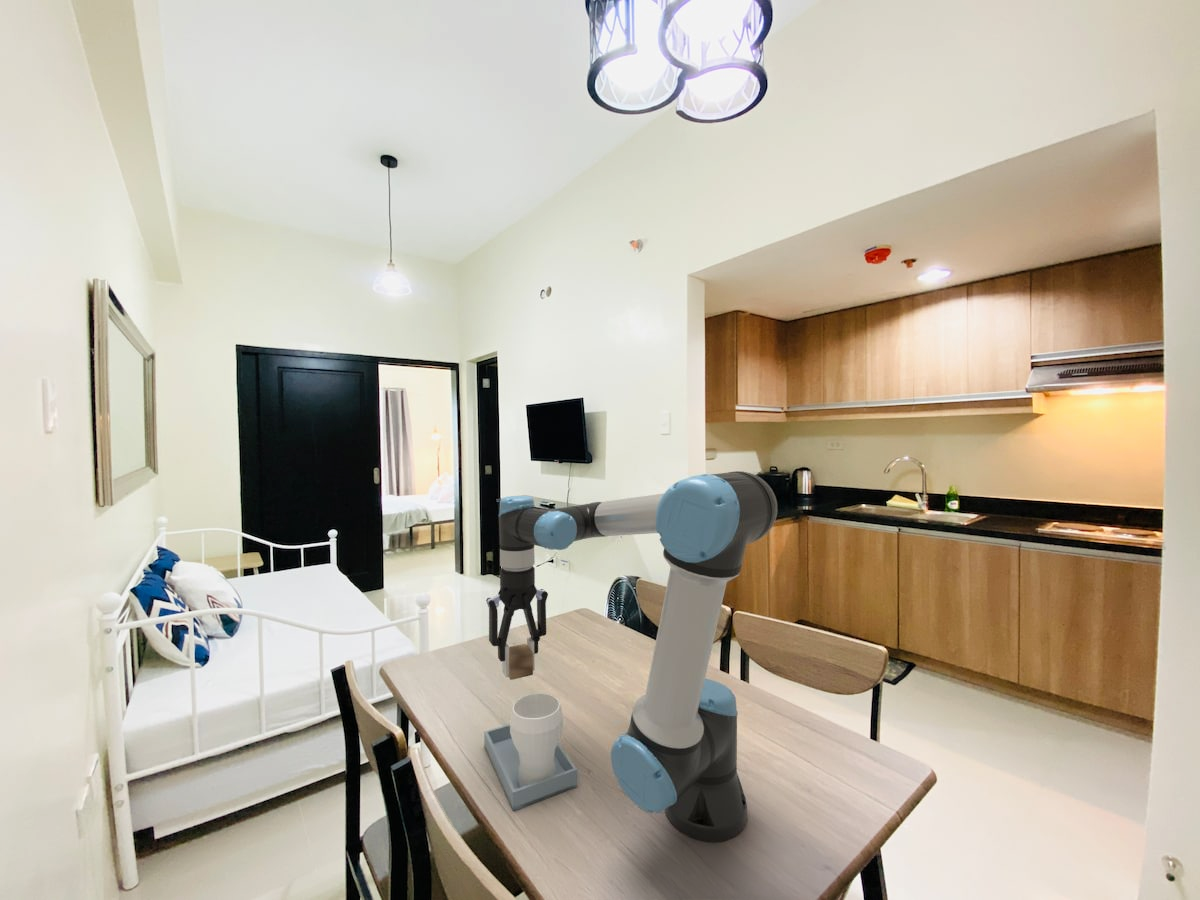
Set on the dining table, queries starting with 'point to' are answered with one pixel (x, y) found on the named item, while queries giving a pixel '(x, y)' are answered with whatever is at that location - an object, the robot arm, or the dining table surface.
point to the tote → (508, 769)
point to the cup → (536, 735)
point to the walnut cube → (520, 661)
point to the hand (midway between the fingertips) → (518, 671)
